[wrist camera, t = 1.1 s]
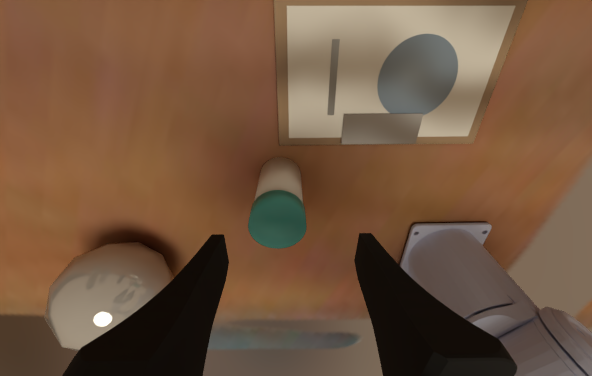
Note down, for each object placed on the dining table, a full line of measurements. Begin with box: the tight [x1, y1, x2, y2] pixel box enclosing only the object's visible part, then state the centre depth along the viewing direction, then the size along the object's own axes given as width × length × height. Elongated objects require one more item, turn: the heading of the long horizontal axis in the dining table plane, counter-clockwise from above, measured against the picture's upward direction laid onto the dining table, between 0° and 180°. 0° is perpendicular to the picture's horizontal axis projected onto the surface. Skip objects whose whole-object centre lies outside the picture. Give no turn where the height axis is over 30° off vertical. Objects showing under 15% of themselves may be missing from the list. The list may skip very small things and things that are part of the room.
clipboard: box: [274, 0, 528, 145], centre depth 18 cm, size 10×16×1 cm, turn 90°
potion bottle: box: [45, 242, 173, 351], centre depth 25 cm, size 9×10×15 cm
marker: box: [248, 157, 306, 248], centre depth 20 cm, size 4×4×7 cm
